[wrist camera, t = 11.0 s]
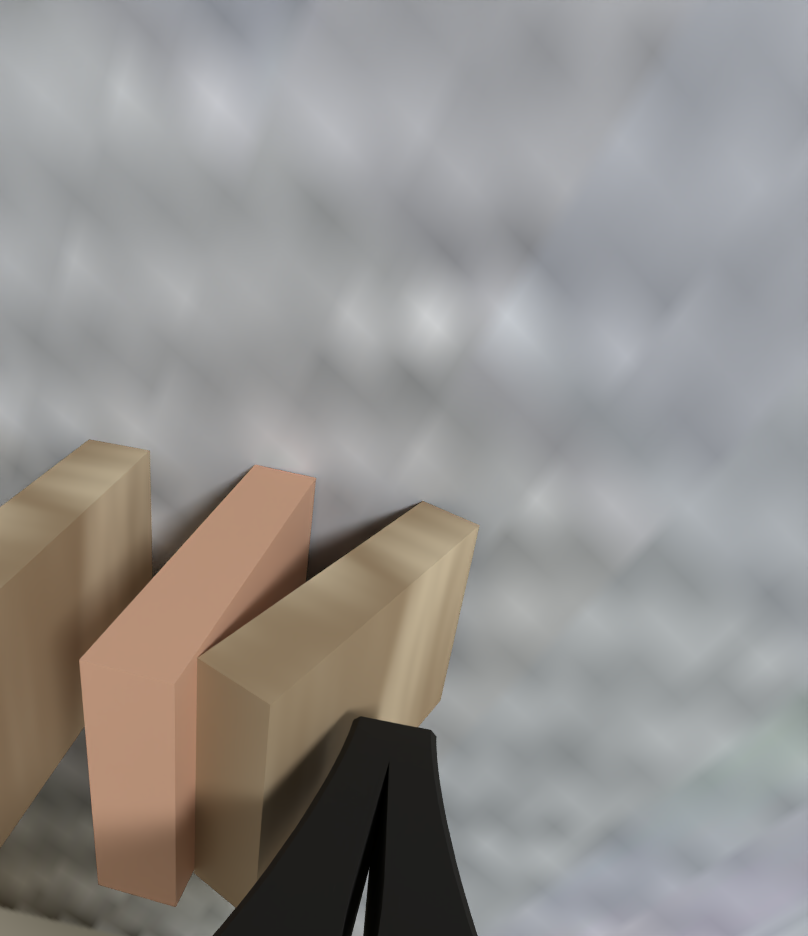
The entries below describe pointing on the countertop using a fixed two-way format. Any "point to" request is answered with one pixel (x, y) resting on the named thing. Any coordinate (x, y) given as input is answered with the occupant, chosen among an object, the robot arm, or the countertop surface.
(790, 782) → the countertop surface
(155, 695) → the domino
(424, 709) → the end domino
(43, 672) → the middle domino
